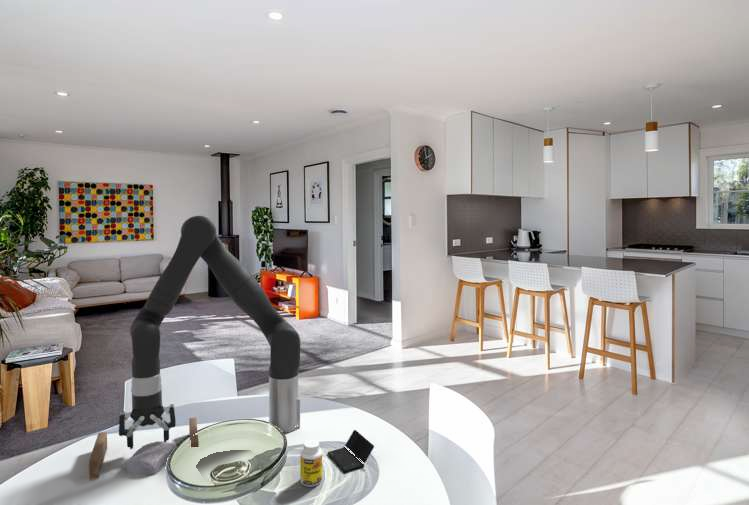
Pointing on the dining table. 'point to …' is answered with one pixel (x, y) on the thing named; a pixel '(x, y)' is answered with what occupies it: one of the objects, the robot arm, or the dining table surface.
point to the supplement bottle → (311, 464)
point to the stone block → (149, 458)
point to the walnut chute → (101, 449)
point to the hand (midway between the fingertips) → (148, 444)
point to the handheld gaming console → (348, 460)
